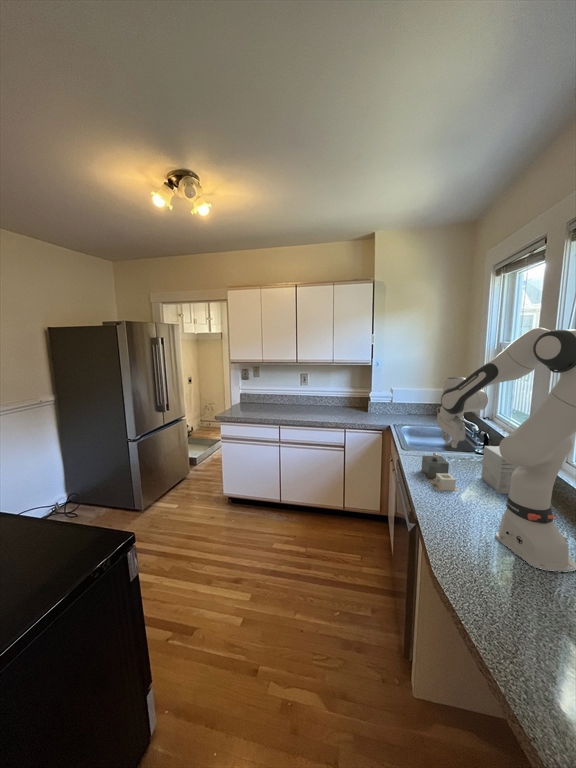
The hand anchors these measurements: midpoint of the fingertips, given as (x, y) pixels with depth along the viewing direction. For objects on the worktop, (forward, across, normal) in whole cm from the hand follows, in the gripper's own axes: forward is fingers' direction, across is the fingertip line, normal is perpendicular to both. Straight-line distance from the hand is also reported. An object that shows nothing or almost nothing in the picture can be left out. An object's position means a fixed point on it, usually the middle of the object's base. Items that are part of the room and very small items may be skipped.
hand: (449, 443), depth 138 cm
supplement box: (+22, +4, -28) cm, 36 cm away
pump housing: (+21, -1, 0) cm, 21 cm away
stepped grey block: (+21, +11, 0) cm, 24 cm away
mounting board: (+22, +6, 0) cm, 23 cm away
